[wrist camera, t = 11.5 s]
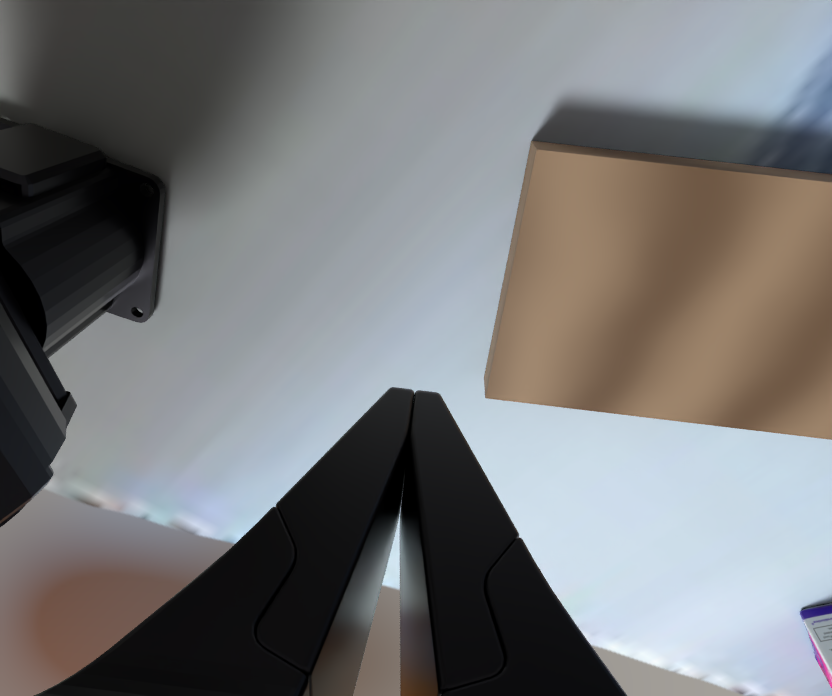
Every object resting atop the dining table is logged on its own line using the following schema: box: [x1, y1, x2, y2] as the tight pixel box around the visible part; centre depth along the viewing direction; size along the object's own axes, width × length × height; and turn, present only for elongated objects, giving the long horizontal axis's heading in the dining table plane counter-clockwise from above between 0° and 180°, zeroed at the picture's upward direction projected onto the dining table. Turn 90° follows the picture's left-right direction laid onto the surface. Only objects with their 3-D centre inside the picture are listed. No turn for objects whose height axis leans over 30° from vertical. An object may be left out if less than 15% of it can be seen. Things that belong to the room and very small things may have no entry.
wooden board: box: [484, 141, 832, 440], centre depth 19 cm, size 22×10×2 cm, turn 85°
